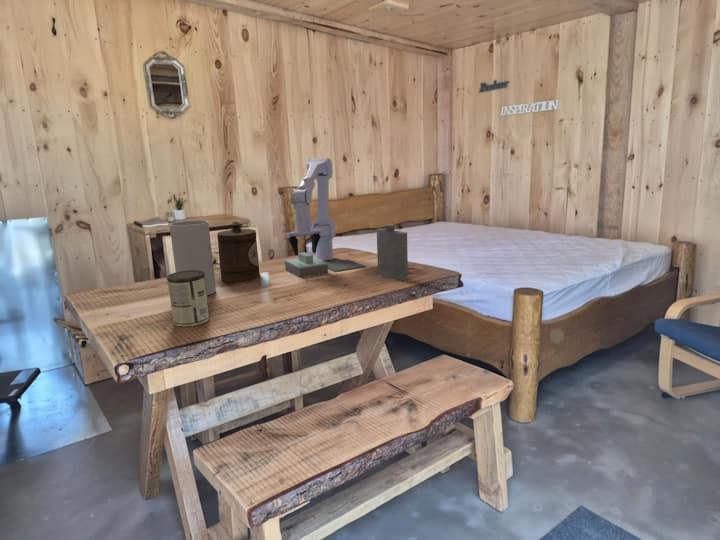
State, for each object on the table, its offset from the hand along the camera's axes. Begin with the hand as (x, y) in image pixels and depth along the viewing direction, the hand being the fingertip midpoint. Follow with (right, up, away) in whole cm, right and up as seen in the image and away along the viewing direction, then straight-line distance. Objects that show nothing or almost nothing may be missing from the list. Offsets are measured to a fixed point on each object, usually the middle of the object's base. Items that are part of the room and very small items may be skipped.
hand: (305, 253), depth 194 cm
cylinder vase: (-35, -15, -24) cm, 45 cm away
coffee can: (-27, -22, -52) cm, 63 cm away
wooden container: (-25, -10, -4) cm, 27 cm away
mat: (+14, -5, +9) cm, 18 cm away
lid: (0, -4, +1) cm, 4 cm away
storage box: (0, -7, +2) cm, 7 cm away
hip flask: (+34, -9, -12) cm, 37 cm away
